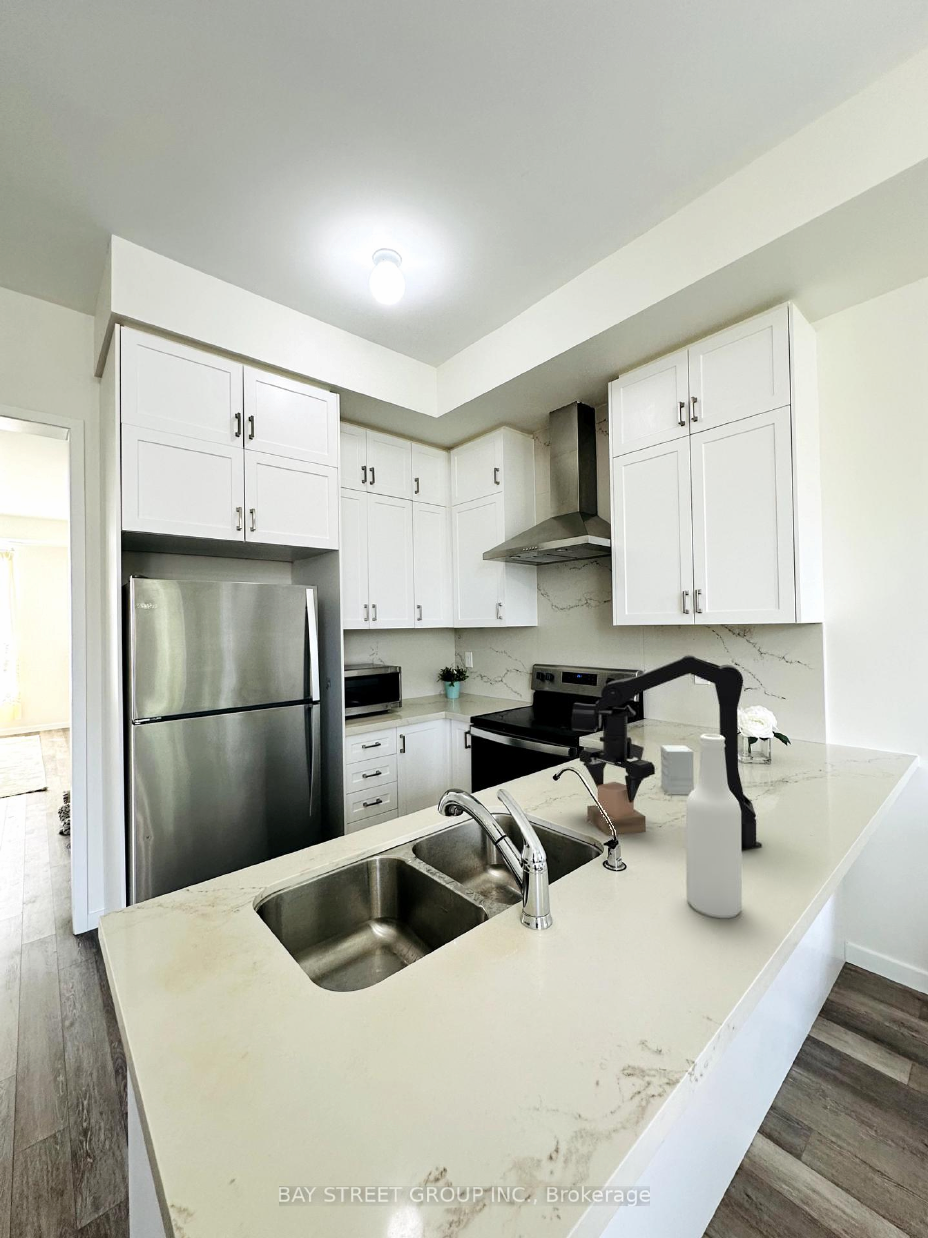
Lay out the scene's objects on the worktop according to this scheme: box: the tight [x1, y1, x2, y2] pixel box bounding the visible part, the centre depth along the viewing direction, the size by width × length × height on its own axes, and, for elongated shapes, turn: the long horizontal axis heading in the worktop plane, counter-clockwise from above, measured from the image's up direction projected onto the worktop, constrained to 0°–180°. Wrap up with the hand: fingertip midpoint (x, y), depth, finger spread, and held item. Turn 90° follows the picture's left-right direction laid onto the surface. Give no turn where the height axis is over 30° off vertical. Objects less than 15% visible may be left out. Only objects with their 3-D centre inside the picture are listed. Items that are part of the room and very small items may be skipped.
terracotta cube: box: [597, 781, 635, 818], centre depth 129 cm, size 6×6×6 cm
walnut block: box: [586, 804, 647, 837], centre depth 130 cm, size 10×10×4 cm
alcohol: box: [685, 733, 743, 919], centre depth 93 cm, size 9×9×30 cm
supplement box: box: [660, 744, 695, 796], centre depth 155 cm, size 7×7×13 cm
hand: (615, 797), depth 129 cm, fingers open, 9 cm apart
